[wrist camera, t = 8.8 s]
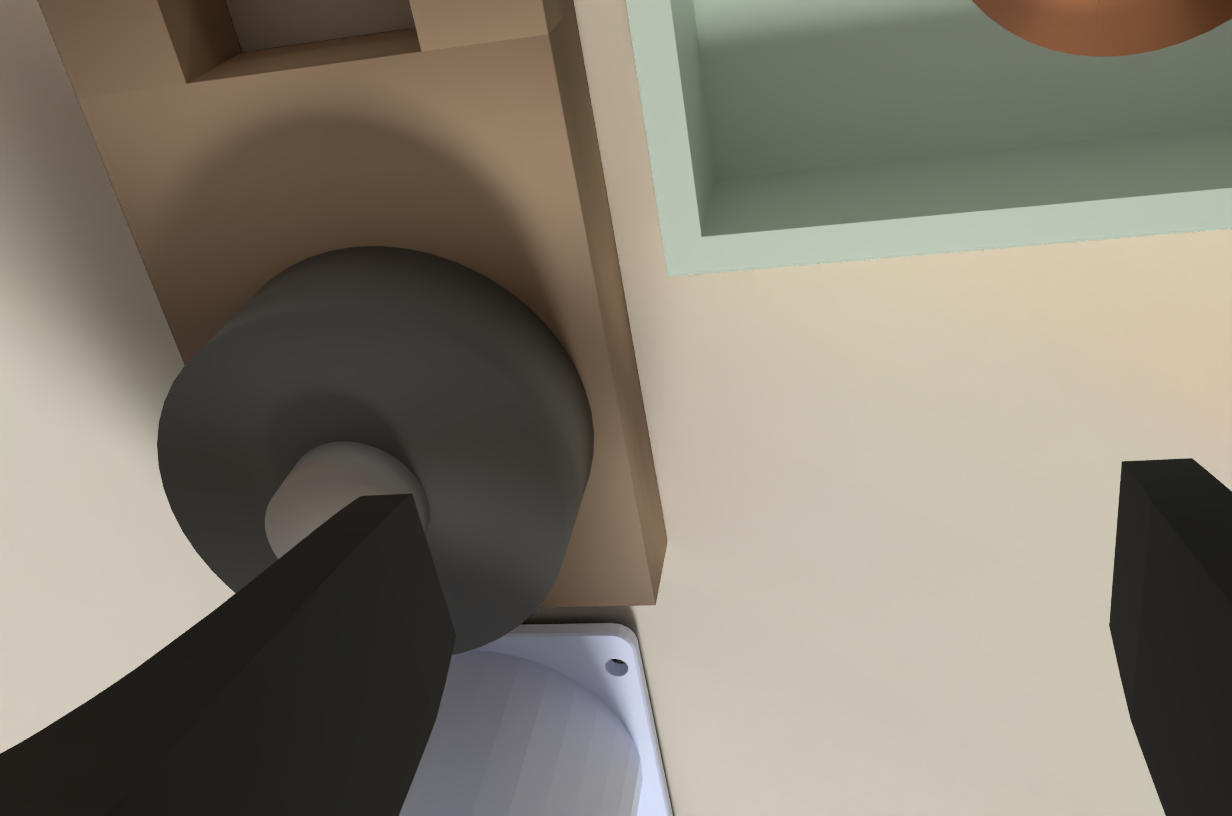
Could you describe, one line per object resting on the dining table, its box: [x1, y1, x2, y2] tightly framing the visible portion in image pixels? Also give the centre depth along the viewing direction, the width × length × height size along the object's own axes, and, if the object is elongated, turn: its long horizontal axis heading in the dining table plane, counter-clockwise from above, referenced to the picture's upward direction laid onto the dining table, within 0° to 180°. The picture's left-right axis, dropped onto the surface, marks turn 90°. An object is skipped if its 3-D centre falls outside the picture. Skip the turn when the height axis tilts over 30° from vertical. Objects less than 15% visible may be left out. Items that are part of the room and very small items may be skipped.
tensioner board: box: [38, 0, 667, 655], centre depth 18 cm, size 18×8×6 cm, turn 9°
